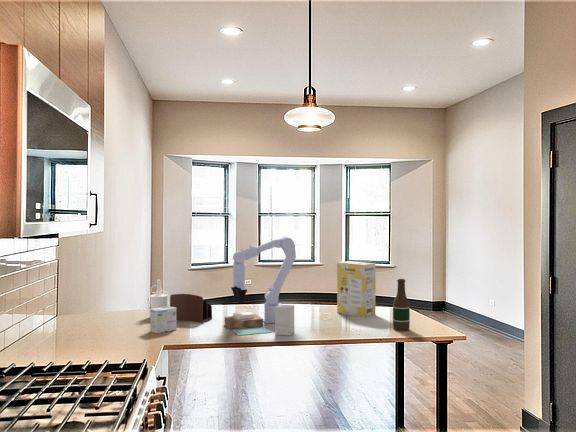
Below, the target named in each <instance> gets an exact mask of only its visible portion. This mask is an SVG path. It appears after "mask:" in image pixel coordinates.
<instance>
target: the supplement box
mask: <svg viewBox="0 0 576 432" xmlns="http://www.w3.org/2000/svg"><path fill="white" fill-rule="evenodd" d="M295 327H296V326H295V305H293V304H292V305H291V304H290V305H289V304H282V305H279V306H277V307H275V323H274V329H275V330H274V333H275V335H276V336H277V335H278V336H291V335H293V334H294V333H295V332H296V331H295V329H296V328H295Z"/></svg>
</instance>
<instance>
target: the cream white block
mask: <svg viewBox="0 0 576 432" xmlns="http://www.w3.org/2000/svg"><path fill="white" fill-rule="evenodd" d="M254 314H255V313H253V312H251V311H246V312H235V313H234V312H233V314H232V316H233V317H234V318H235V319H236V320H239V319H251V318H254Z"/></svg>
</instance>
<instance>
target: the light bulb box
mask: <svg viewBox="0 0 576 432" xmlns="http://www.w3.org/2000/svg"><path fill="white" fill-rule="evenodd" d="M149 311H150V312H149V313H150V315H149V319H150V332H151V331H153V332H152V333H154V332H156V333H155V334H160V333H159V332H162V333H166V332H165V331H168V332H171V331H172V330H173V331H177V325H178V324H177V320H176V307H171V306H168V305H167V307H160V308H154V309H151V308H150V310H149Z"/></svg>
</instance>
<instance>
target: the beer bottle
mask: <svg viewBox="0 0 576 432" xmlns="http://www.w3.org/2000/svg"><path fill="white" fill-rule="evenodd" d="M396 282H397V288H396V289H397V290H396V291H397V292H396V296H395V297H394V300H393V302H392V329H393V330H394V331H397V332H407V331H410V327H411V325H410V323H411V321H410V320H411V319H410V316H411V315H410V314H411V313H410V312H411V311H410V310H411V309H410V307H411V306H410V305H411V304H410V301H409V298H408V297H407V295H406V279H404V278H398V279H397V281H396Z"/></svg>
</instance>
